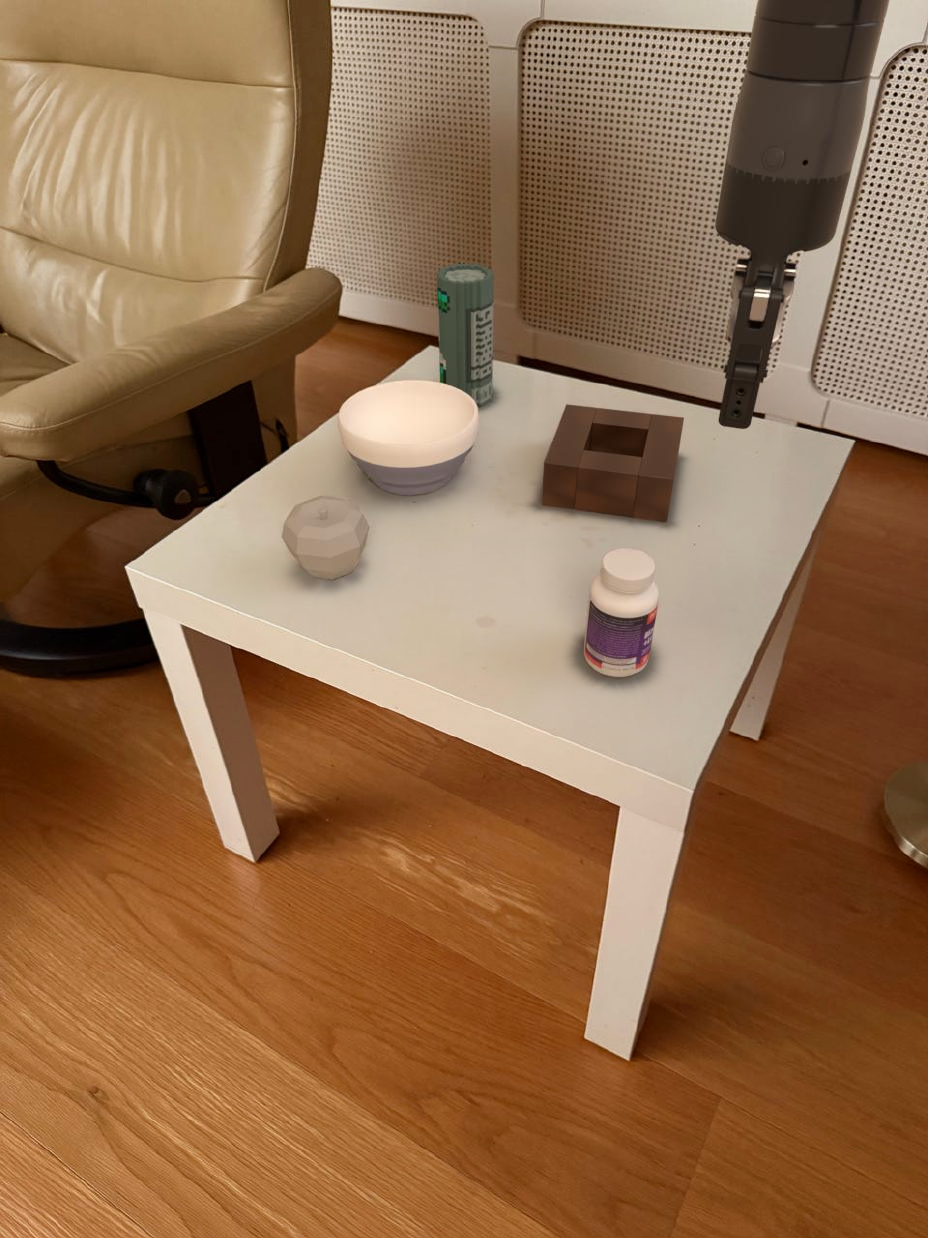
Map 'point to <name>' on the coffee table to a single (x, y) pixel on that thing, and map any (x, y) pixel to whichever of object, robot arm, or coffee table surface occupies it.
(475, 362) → the can
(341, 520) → the apple
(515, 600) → the coffee table surface
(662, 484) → the socket pad
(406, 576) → the coffee table surface
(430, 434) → the bowl
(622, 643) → the pill bottle
